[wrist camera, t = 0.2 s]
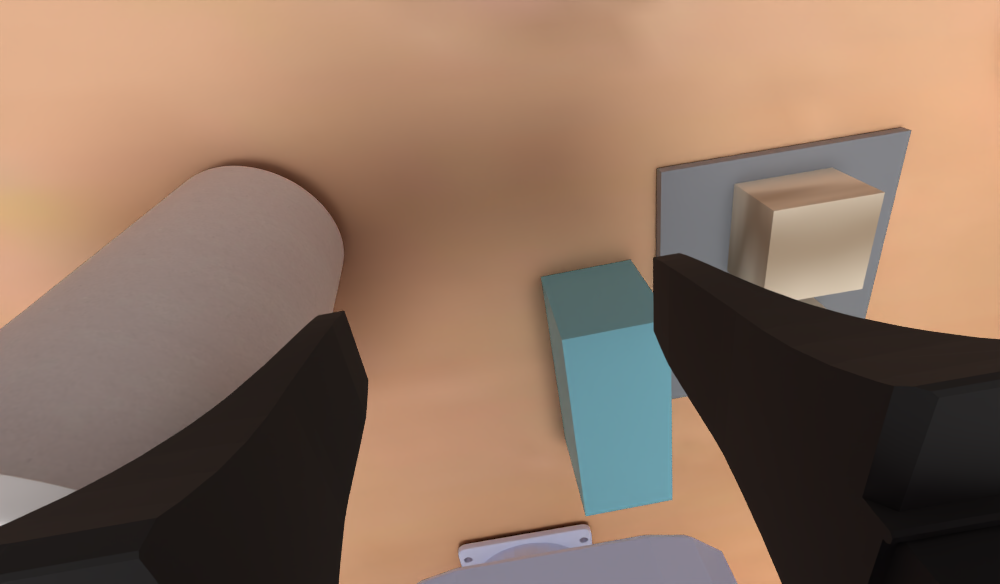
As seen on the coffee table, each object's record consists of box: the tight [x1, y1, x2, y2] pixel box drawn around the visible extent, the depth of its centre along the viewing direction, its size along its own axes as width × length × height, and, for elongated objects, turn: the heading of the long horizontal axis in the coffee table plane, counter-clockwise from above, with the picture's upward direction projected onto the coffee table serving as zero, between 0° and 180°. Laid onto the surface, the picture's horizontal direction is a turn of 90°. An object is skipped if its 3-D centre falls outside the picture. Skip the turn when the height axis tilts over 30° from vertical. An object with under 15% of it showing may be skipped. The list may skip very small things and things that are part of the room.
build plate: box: [656, 127, 911, 399], centre depth 24 cm, size 12×10×1 cm
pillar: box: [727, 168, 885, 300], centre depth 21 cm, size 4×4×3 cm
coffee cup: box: [0, 166, 344, 526], centre depth 15 cm, size 10×10×15 cm
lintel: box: [541, 260, 672, 516], centre depth 24 cm, size 10×4×5 cm, turn 10°
